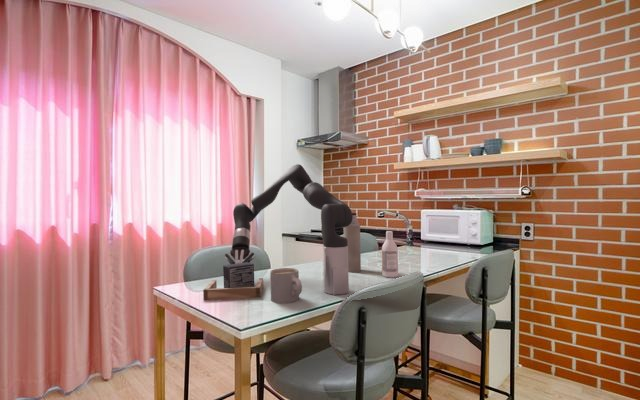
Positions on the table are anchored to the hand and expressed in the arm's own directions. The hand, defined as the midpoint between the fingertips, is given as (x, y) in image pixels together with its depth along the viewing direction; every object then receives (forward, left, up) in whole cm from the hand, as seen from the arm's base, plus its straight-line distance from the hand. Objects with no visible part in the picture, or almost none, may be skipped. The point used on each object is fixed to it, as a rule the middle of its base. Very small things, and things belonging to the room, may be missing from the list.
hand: (238, 273), depth 145 cm
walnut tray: (-11, +2, -5) cm, 12 cm away
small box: (-9, +1, -5) cm, 10 cm away
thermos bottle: (+6, -55, -5) cm, 56 cm away
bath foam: (-12, -65, -5) cm, 67 cm away
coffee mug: (-29, -13, -5) cm, 32 cm away
